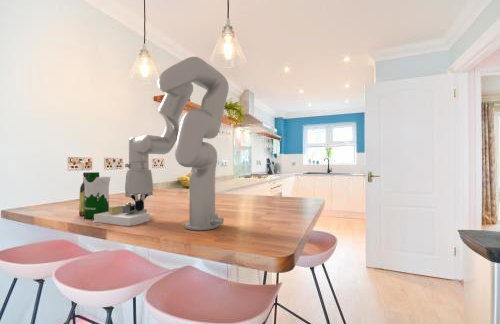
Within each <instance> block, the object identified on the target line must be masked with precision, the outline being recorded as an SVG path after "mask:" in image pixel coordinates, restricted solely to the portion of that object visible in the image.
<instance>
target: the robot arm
mask: <svg viewBox="0 0 500 324" xmlns="http://www.w3.org/2000/svg"><path fill="white" fill-rule="evenodd" d="M193 84H195V85H196V86H198V87H200V88H202V89H204V90H206V91H205V93H204V96H203V97H202V99H201V105H200V108H197V107H196V108H191V109H189V110H188V111H186V112H185V113H184V115H183V117H182V118H181V121H179V120H180V117H181V115H182V114H183V111H184V110H185V108H186V106H187V104H188V102H189V100H190V98H191V96H192V94H193V92H194V86H193ZM157 86H158V89H159V90H160V91H161V92H163V93H164V94H165V95H164V96H163V99H162V100H161V103H160V105H159V106H158V109H157V110H158V113H159V114H160V116H162V117H163V119H164V121H165V128H164V132H162V133H163V134H162V135H161V136H159V135H151V134H147V135H144V134H143V135H142V136H131V137H130V138H129V139H128V163H125V164H124V168H128V169H127V170H126V175H125V184H124V191H125V194H124V197H125V198H131V200H133V201H134V202H135V209H136V210H137V211H142V208H144V209H145V200H146V199H147V198H148V197H149V196H153V194H154V193H153V192H154V183H153V174H152V170H151V169H149V166H150V165H149V164H150V163H149V162H150V161H149V155H167V154H168V153H170V152H171V151H172V149H173V147H174V146H175V149H174V156H175V160H176V162H177V163H178V164H179V165H180V166H182V167H183V168H191V170H190V174H189V181H188V182H189V184H188V189H189V191H188V192H189V194H188V195H189V196H188V197H189V198H188V201H189V204H188V205H189V207H188V208H189V210H188V211H189V213H188V215H189V217H188V218H189V221H187V222H185V224H184V227H185V228H186V229H187V230H190V231H191V230H192V231H208V230H212V229H217V228H218V227H220V225H223V224H224V222H225V221H224V220H225V219H224V217H219V213H216V171H217V163H218V152H217V149H216V148H215V146H214V145H213V144H211V143H209V142H207V141H204V139H207V140H208V139H212V140H213V139H214V138H216V137H217V136H218V135H219V133H220V130H221V125H222V121H223V117H224V116H223V115H224V111H225V106H226V102H227V98H228V95H229V82H228V80H227V78H226V77H225V76H224V75H223V73H221V72H220V71H219V70H217V69H216V68H215V67H213V65H210V63H208V62H206V60H204V59H203V58H201V57H199V56H189V57H187V58H184V60H180V61H178V62H177V63H175V64H173V65H171V66H169V67H168V68H166V69H165V70H164V71H162V72H161V73H160V75H159V76H158V79H157ZM179 122H180V123H179ZM179 124H180V125H179ZM139 195H140V197H139Z"/></svg>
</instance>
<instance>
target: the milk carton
mask: <svg viewBox="0 0 500 324" xmlns="http://www.w3.org/2000/svg"><path fill="white" fill-rule="evenodd" d="M88 176H89V177H84V176H83V177H82V179H83V180H82V181H84V185H85V211H84V215H83V218H84V219H94V214H99V213H104V212H109V207H110V203H109V202H110V193H109V190H110V182H111V176H100V172H91V173H88Z"/></svg>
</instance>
